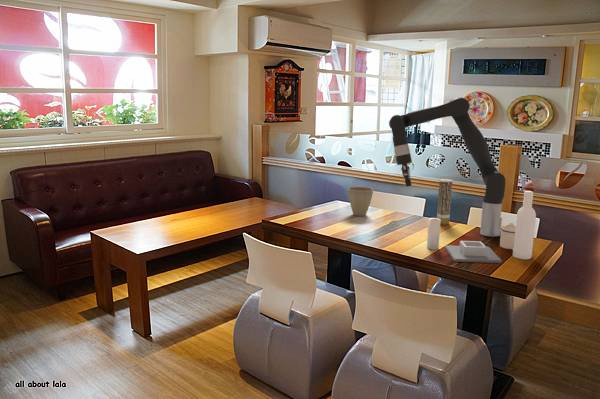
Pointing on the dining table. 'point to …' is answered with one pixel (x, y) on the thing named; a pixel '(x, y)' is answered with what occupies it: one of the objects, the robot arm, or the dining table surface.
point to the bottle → (524, 228)
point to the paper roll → (433, 233)
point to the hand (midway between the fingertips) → (408, 186)
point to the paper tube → (444, 201)
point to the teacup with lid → (507, 236)
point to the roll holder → (472, 252)
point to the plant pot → (360, 199)
